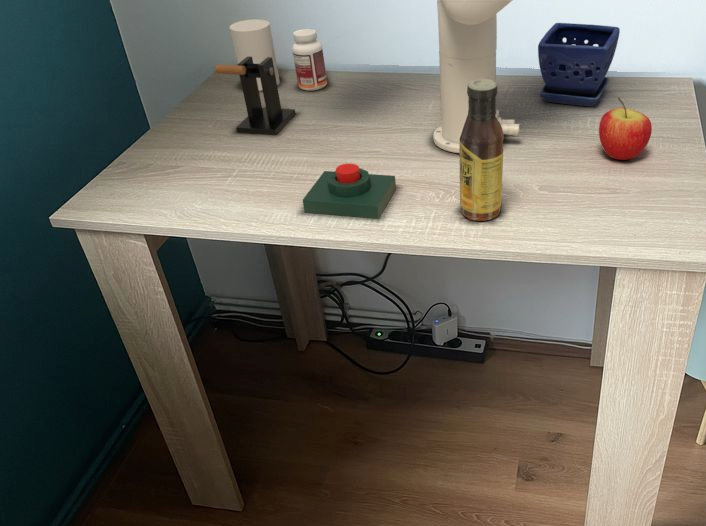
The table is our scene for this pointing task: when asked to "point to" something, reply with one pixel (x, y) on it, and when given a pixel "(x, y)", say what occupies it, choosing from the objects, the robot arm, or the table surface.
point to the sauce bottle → (481, 154)
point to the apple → (624, 132)
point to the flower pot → (576, 62)
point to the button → (348, 173)
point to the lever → (239, 70)
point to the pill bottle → (309, 60)
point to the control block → (350, 195)
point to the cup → (253, 43)
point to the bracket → (258, 117)
